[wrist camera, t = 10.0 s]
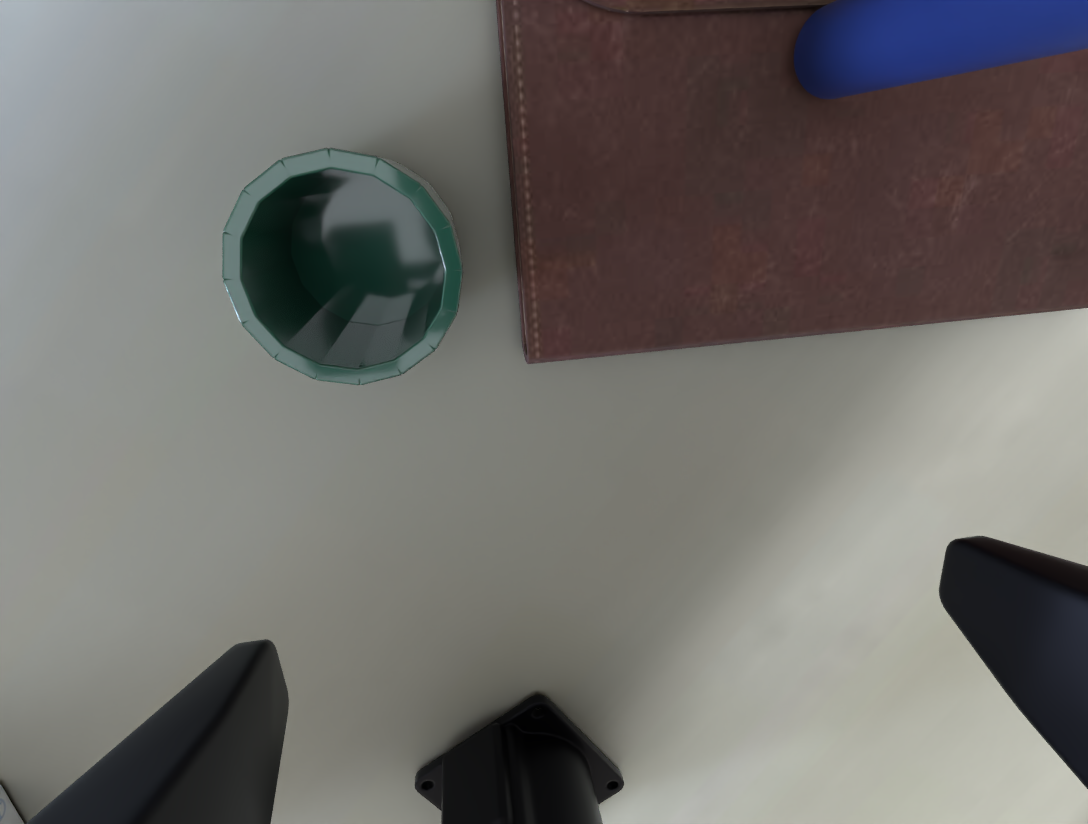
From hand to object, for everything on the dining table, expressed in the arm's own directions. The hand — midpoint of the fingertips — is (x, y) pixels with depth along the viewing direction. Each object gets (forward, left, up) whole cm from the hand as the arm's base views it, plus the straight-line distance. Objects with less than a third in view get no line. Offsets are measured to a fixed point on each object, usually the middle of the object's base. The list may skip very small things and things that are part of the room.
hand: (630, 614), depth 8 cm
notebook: (+1, -12, -13) cm, 18 cm away
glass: (+5, +2, -13) cm, 14 cm away
